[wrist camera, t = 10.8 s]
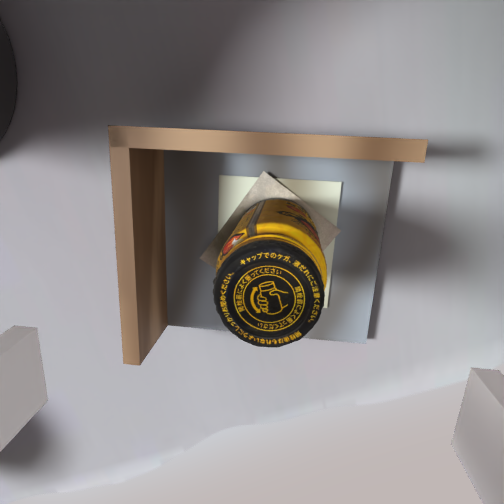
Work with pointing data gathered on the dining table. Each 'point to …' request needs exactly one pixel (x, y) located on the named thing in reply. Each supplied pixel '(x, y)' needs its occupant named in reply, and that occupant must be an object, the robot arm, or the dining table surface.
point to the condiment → (270, 266)
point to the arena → (221, 208)
